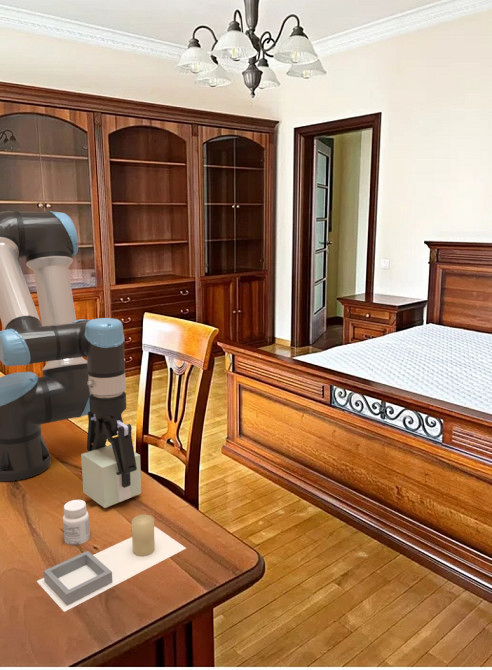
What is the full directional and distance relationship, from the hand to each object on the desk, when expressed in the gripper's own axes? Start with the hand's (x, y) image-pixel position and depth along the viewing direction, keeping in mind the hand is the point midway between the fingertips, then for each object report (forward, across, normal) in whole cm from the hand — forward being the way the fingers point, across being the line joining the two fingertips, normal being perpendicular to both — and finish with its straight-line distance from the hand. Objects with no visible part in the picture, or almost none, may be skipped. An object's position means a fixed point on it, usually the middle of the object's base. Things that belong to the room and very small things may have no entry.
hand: (112, 491), depth 118 cm
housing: (0, 0, 0) cm, 0 cm away
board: (+3, +21, -12) cm, 24 cm away
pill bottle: (+3, +9, -13) cm, 16 cm away
